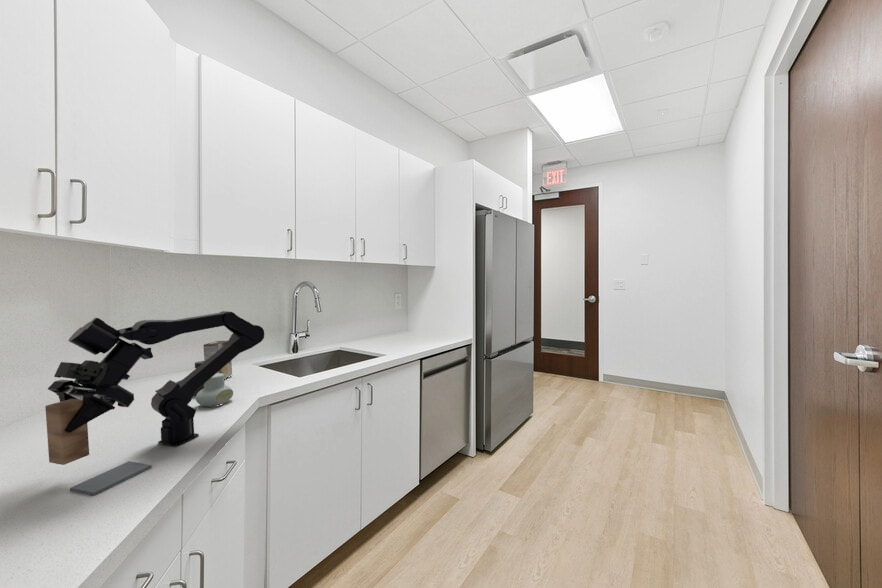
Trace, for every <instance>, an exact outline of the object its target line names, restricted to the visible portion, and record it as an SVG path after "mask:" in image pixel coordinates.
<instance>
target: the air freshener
mask: <svg viewBox="0 0 882 588" xmlns="http://www.w3.org/2000/svg"><path fill="white" fill-rule="evenodd" d="M233 395H234V391H233V389H232V387H230V386H228V385H225V380H224V374H222V373H216V374H215V375H214V376H213V377H211V378H210V379H209V380H208V381H207V382H206V383H205V384H204V389H202V390H200V391H199V392H198V393H197V395H196V396H195V401H196V403H197V404H199V405H200V406H204V407H209V406H211V407H218V406H217V405H220V404H223V405H224V404H225V403H227V402H228V401H230V400H231V399H232V397H233ZM220 406H221V405H220Z"/></svg>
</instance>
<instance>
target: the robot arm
mask: <svg viewBox="0 0 882 588" xmlns="http://www.w3.org/2000/svg"><path fill="white" fill-rule="evenodd" d="M219 327H225V328H226V329H227V331H229V332H231V333H232V334H231V335H230V337H229V339H228V340H227V341H228V342H227V343H226V344H225V345H224V346H223V347H222V348H221V349H219V350H218V351H217V352H216V353H214V354H213V355H212V356H211V357H210V358H208V359H207V360H206V361H205V362H204V363H202V364H201V365H200V366H199V367H197V368H195V369H194V370H192V371H191V372H190V373H189V374H188V375H187V376H185V377H184V378H183V379H181V380H178V381H176V382H175V381H173V380H171V379H169V380H168V381H167V382H166V383H165V384H164V385H163V386H161V388H158V389H156V390H155V394H154V395H152V398H151V401H150V405H151V408H152V409H153V411H154V412H157V413H158V414H159V415H161V417H164V419H163V420H161V427H160V438H161V439H160V440H159V441H157V443H158V445H165V446H173V447H178V446H180V445H182V444H184V443H186V442H189V441H191V440H193V439H195V438H197V437H199V433H195V424H194V423H195V422H194V421H195V420H194V418H195V415H196V412H197V409H195V407H194V408H193V407H192V406H191V405H189V404H190V402H191V401H192V400H193V397H195V396H194V394H195V392H196V391H197V390H198V389H199V388H200V387H201V386H202V385H203V384H205V383H206V382H207V381H208V380H209V379H210V378H211V377H213V376H214V375H215V374H216V373H217V372H218V371H220V370H221V369H222V368H223V367H224V366H225V365H227V364H228V363H229V362H230V361H231V362H232V361H233V359H235V358H236V357H237V356H238V355H240V354H241V353H243V352H245V351H248V350H250V349H252V348H254V347H256V346H257V345H258V344H260V343H261V342H262V341H264V339H265V330H264V329H263V327H262V326H260V325H257V324H252V323H251V322H249V321H247V320H246V319H243V318H242V317H240V316H238V315H237V314H235V313H234V312H232V311H227V310H226V311H223V310H222V311H220V312H215V313H209V314H203V315H197V316H192V317H184V318H179V319H142V320H140V321H137V322H135V323H134V324H133V325H132V326H129V327H124V328H121V329H116V328H115V327H112V326H111V325H109V324H107V323H106V322H105V321H104V320H103V319H101V318H99V317H94V318H93V319H92V320H91V321H89V322H87V323H86V324H84V325H83V326H81V327H79V328H78V329H76V331H75V332H74V333H73V334H72V335H71V336H70V337H69V339H68V342H69V343H72V344H73V345H75V346H77V347H79V348H81V349H83V350H85V351H87V352H89V353H90V354H93V355H95V356H96V355H98V354H99V353H100V354H106V353H107V355H105V356H104V358H102V360H100V362H99V361H96V360H95V361H94V360H88V359H86V360H84V361H83V362H82V363H78V362H77V363H75V362H66V361H65V362H64V361H60V364H59V365H58V368H57V370H56V371H55V373H54V376H53V377H54V378H58V380H55V381H54V382H52V383H51V385H50V386H48V388H47V390H49V391H50V392H52V393H55V395H57V396H58V398H59V402H62V401H65V400H69V399H78V400H83V405H82V406H81V408H80V409H79V410H78V412H77V413H76V414H75V416H74V417H73V418H72V420H71V421H70V423H69V424H68V426H67V427H66V429H65V431H66V432H68V433H70V432H72V431H74V430H76V429H77V428H79V427H81V426H82V425H84V424H86V423H87V424H88V423H89V422H91V421H93V420H95V419H96V418H98V417H100V416H102V415H104V414H105V413H107V412H109V411H111V410H115V409H116V406H114V405H115V404H116V403H117V406H118V407H122V408H129V407H130V406H131V405H132V403H133V402H134V401H135V394H134V393H133V392H131V391H129V390H127V389H126V388H124V387H123V386H120V385H119V384H120V383H121V382H122V380H124V381H128V379H129V378H130V377H131V375H129V372H130V371H131V369H132V368H133V367H134V366H135V365H136V363H137V362H138V361H139V360H140V359H142V360H149V359H153V358H154V355H153V352H152V347H147V348H145V347H143V346H142V345H139V344H138V343H141V344H144V345H148V346H149V345H150V346H152V345H156V344H159V343H162V342H164V341H167V340H170V339H172V338H174V337H177V336H179V335H183V334H188V333H193V332H198V331H199V332H200V331H203V330H207V329H214V328H219ZM123 339H125V340H123ZM126 340H127V341H126ZM128 341H136V342H138V343H136V342H131V343H130V342H128ZM59 378H63V379H59ZM64 378H65V379H64ZM70 379H71V380H70Z"/></svg>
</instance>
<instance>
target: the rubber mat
mask: <svg viewBox="0 0 882 588" xmlns="http://www.w3.org/2000/svg"><path fill="white" fill-rule="evenodd" d="M151 468H152V464H148V463H144V462H137V461H131V460H129V461H126V462H123V463H122V464H120V465H119V464H118V465H117V466H115V467H113V468H110V469H107V470H106V471H104V472H102V473H99V474H97V475H95V476H93V477H91V478H89V479H88V478H87V479H86V480H84V481H82V482H79V483H77V484H75V485H73V486H70V487H69V491H71V492H75V493H79V494H85V495H88V496H96V495H98V494H100V493H103V492H104V491H105V492H106V491H107V490H109V489H111V488H113V487H115V486H116V485H118V484H121V483H123V482H125V481H127V480H129V479H131V478H133V477H135V476H137V475H139V474H141V473H143V472H145V471H147V470H150V469H151Z"/></svg>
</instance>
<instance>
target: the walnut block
mask: <svg viewBox="0 0 882 588" xmlns="http://www.w3.org/2000/svg"><path fill="white" fill-rule="evenodd" d="M82 405H83V400H78V399H69V400H65V401H62V402H60V401H58V402H55V403H51V404H46V405H45V419H46V420H45V422H46V435H47V437H46V438H47V450H48V462H49V463H50V464H55V465H61V466H65V465H67V464H69V463H72V462H75V461H77V460H79V459H82V458H85V457H87V456H90V442H89V427H88V423H86V424H84V425H82V426H81V427H79V428H77V429H76V430H74V431H72V432H70V433H68V432H66V431H65V429H66V427H67V426H68V424H69V423H70V421H71V420H72V418H73V417H74V416H75V414H76V413H77V412H78V410H79V409H80V408H81V406H82Z"/></svg>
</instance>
